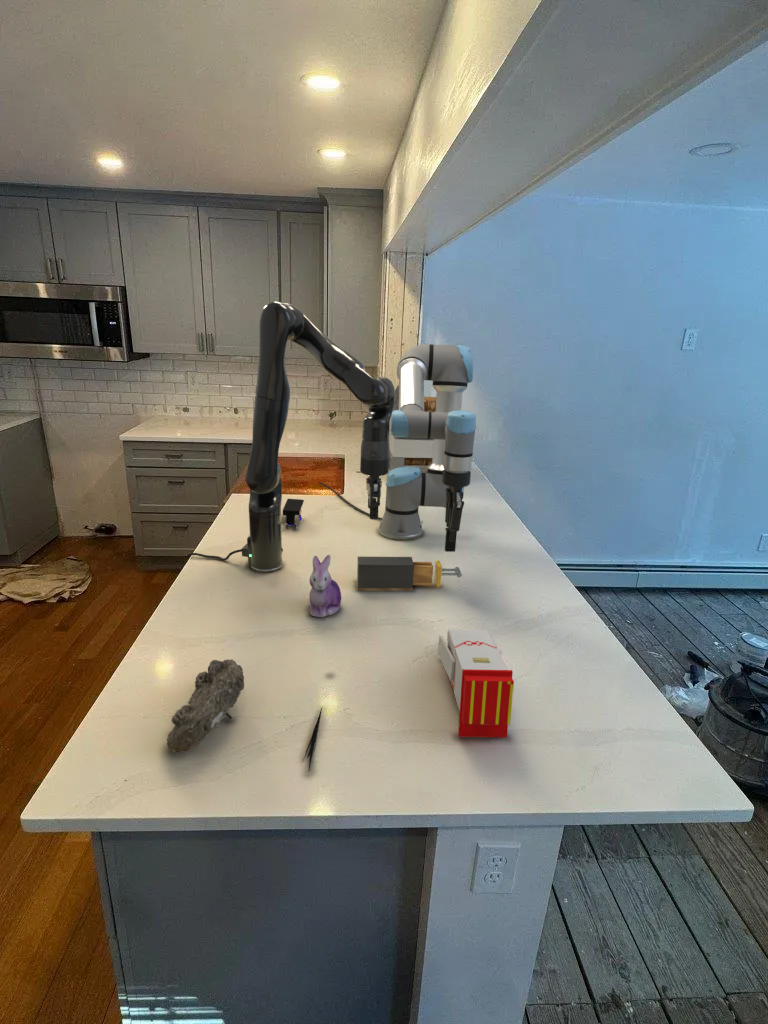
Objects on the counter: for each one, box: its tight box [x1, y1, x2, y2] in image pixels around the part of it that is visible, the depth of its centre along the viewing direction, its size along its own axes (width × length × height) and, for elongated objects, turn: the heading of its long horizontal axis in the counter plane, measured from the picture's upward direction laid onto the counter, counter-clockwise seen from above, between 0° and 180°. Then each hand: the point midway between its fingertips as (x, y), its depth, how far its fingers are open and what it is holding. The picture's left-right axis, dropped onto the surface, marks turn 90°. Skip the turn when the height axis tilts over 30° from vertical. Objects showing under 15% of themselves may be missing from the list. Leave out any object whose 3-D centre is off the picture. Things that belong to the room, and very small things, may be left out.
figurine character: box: [281, 498, 305, 530], centre depth 203 cm, size 7×8×15 cm
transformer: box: [389, 384, 436, 472], centre depth 268 cm, size 34×33×41 cm
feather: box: [301, 673, 332, 771], centre depth 108 cm, size 2×28×2 cm
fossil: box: [166, 658, 245, 754], centre depth 106 cm, size 22×10×15 cm
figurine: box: [308, 554, 342, 618], centre depth 145 cm, size 9×10×15 cm
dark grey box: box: [356, 556, 414, 592], centre depth 161 cm, size 16×6×8 cm, turn 95°
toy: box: [437, 628, 515, 738], centre depth 117 cm, size 12×13×30 cm
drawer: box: [413, 560, 463, 588], centre depth 162 cm, size 20×4×6 cm, turn 95°
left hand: (372, 513), depth 154 cm, fingers open, 8 cm apart
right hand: (449, 550), depth 160 cm, fingers closed
